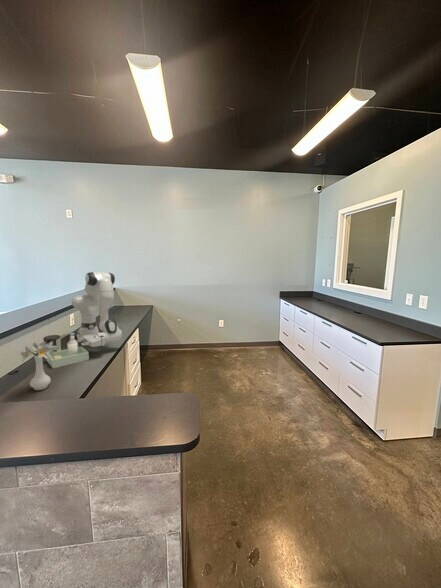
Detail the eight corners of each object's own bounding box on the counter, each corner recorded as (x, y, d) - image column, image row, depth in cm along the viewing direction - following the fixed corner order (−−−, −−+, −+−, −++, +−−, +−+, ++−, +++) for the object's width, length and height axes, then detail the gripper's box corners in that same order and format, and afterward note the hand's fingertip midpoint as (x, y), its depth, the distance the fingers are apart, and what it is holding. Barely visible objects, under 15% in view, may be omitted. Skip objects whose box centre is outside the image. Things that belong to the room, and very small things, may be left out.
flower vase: (61, 378, 147) (59, 337, 144) (44, 395, 129) (41, 349, 126) (37, 379, 145) (34, 338, 142) (16, 396, 127) (12, 349, 124)
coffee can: (49, 359, 174) (48, 340, 172) (41, 356, 179) (40, 337, 177) (64, 354, 183) (63, 336, 181) (56, 352, 188) (55, 334, 186)
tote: (47, 362, 170) (46, 353, 169) (81, 354, 185) (81, 346, 185) (52, 369, 159) (52, 360, 158) (88, 360, 175) (88, 352, 174)
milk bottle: (67, 358, 174) (65, 333, 172) (76, 356, 179) (75, 331, 176) (69, 361, 170) (68, 335, 168) (79, 359, 175) (78, 333, 172)
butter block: (53, 361, 169) (53, 356, 168) (60, 360, 172) (59, 354, 171) (56, 365, 164) (55, 359, 164) (63, 363, 167) (62, 357, 166)
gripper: (94, 331, 193) (74, 335, 183) (104, 337, 179) (83, 341, 169) (94, 339, 194) (75, 343, 184) (105, 346, 180) (84, 350, 170)
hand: (79, 342), depth 176 cm, fingers open, 8 cm apart
